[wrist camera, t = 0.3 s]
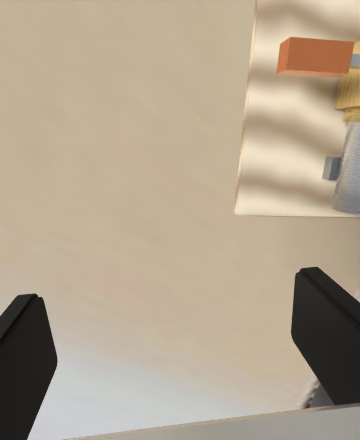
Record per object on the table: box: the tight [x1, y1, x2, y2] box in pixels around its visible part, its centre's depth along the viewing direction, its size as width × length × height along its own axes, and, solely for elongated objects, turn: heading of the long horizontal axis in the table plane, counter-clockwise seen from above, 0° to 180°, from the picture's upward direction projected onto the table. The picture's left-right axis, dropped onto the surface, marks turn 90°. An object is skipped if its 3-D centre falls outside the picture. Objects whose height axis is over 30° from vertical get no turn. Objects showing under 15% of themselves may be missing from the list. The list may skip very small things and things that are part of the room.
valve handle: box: [276, 37, 360, 78], centre depth 27 cm, size 3×15×2 cm, turn 88°
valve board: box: [234, 0, 360, 217], centre depth 37 cm, size 34×26×2 cm
